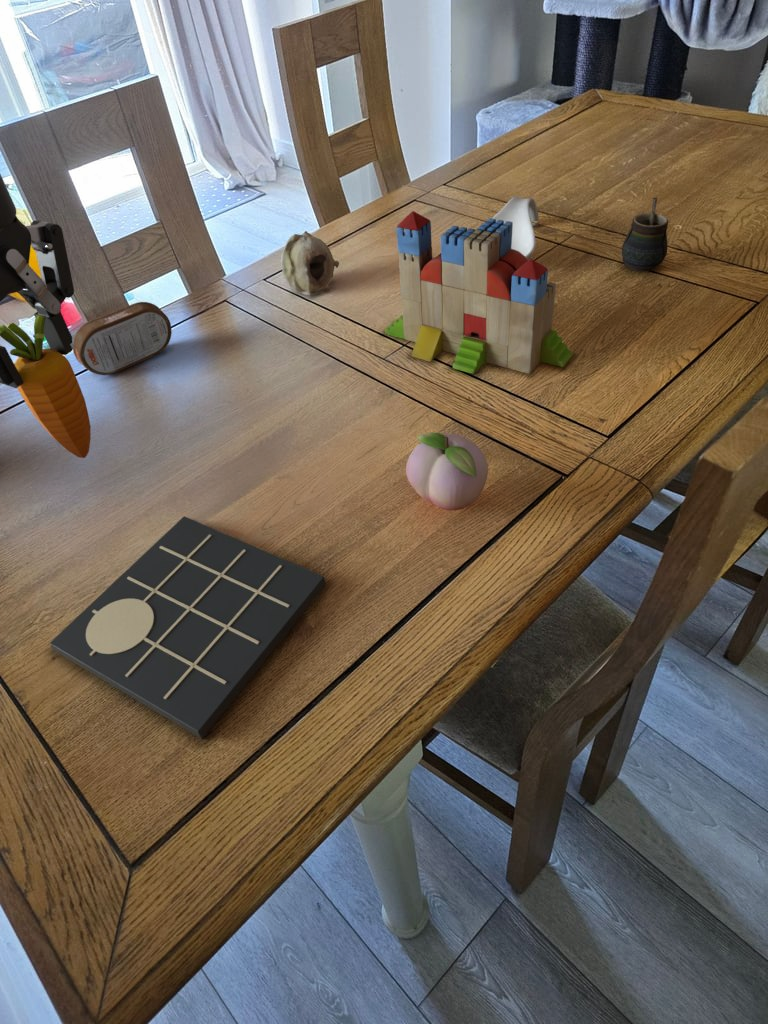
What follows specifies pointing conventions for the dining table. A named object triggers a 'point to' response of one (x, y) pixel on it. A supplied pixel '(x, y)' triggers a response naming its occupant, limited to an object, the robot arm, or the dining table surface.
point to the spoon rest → (521, 223)
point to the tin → (122, 338)
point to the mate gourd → (646, 241)
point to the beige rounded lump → (307, 264)
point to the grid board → (190, 623)
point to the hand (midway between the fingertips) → (38, 366)
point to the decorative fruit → (447, 470)
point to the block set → (475, 298)
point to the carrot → (50, 388)
